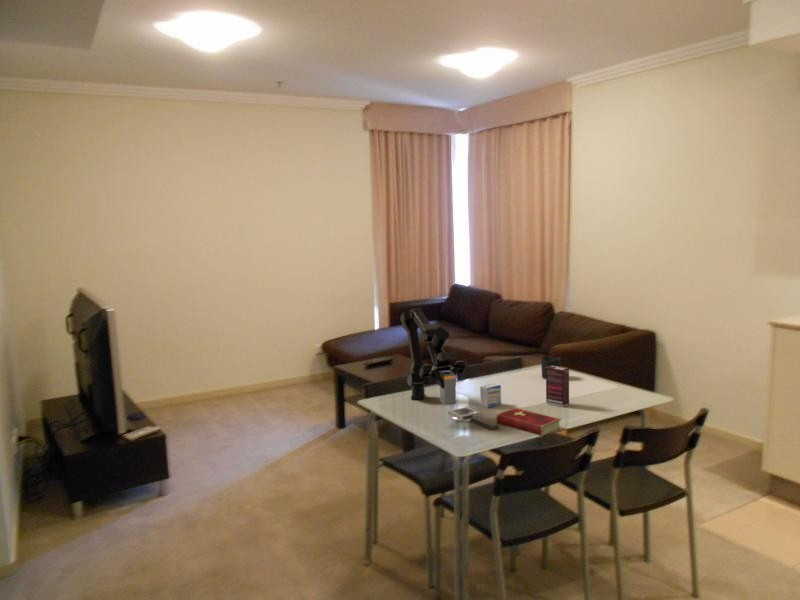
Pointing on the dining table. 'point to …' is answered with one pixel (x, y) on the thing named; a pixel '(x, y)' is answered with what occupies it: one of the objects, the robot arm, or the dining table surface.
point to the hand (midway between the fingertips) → (449, 387)
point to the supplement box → (557, 386)
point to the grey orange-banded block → (448, 388)
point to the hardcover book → (528, 421)
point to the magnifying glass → (471, 417)
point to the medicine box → (490, 395)
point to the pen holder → (549, 363)
